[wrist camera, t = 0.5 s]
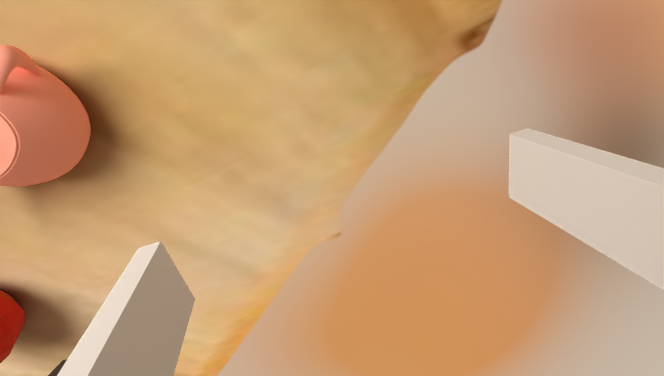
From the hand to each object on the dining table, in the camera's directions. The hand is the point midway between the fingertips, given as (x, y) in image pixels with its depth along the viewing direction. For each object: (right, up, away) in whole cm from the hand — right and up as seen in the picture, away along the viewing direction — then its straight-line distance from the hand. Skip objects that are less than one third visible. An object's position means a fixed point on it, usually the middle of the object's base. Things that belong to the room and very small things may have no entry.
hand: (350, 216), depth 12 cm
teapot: (-32, +8, +20) cm, 38 cm away
